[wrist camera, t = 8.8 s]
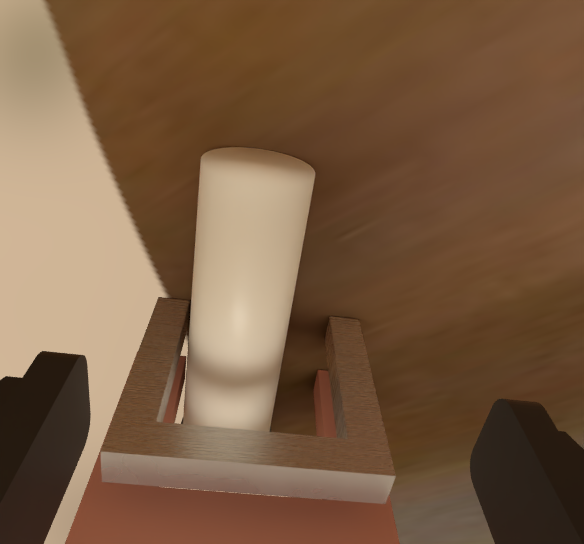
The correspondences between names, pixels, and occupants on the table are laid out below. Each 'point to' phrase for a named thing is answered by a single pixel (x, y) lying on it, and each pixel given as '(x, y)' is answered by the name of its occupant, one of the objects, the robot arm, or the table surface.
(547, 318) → the table surface
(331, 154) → the table surface
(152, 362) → the grey u-shaped panel
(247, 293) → the white long cylinder
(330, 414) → the wall
